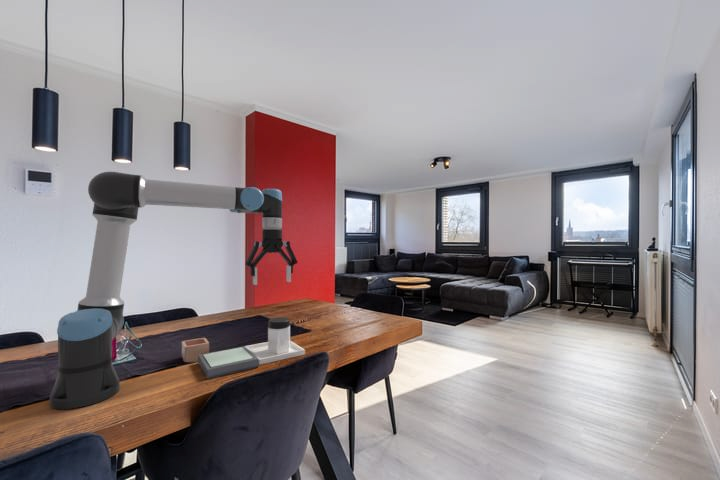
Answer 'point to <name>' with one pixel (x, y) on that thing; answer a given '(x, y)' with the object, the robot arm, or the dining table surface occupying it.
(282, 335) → the jar
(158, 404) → the dining table surface
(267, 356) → the tray
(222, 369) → the block
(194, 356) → the cup
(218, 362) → the plate
